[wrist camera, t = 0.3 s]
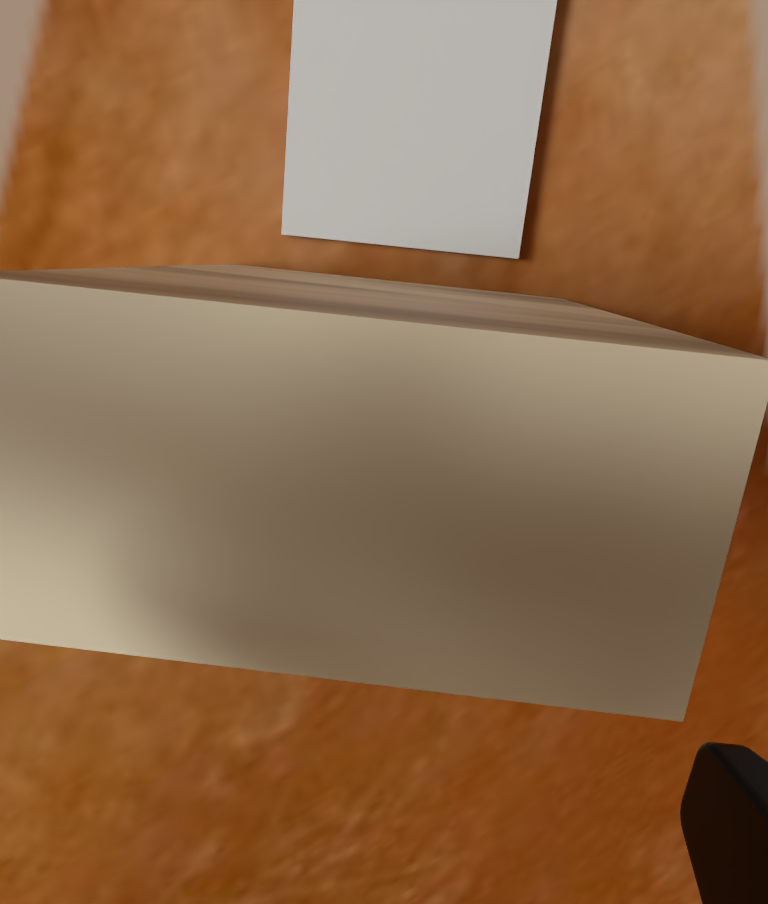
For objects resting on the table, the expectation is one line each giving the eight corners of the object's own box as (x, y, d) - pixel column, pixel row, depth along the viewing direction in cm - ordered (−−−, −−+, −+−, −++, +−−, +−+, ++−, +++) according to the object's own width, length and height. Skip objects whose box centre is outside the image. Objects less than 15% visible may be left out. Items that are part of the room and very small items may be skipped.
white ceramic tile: (517, 258, 20) (518, 258, 20) (284, 234, 20) (281, 234, 20) (580, -170, 17) (583, -179, 17) (307, -193, 17) (304, -203, 17)
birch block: (534, 457, 22) (681, 724, 9) (228, 423, 22) (-27, 638, 10) (561, 298, 20) (778, 361, 8) (233, 264, 21) (-57, 272, 8)
